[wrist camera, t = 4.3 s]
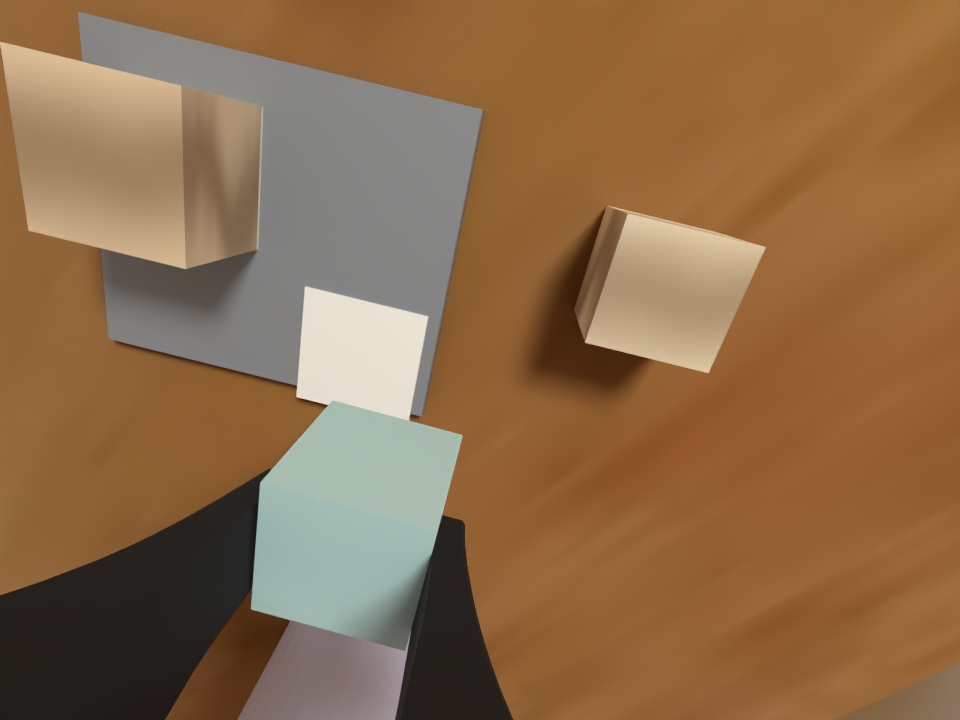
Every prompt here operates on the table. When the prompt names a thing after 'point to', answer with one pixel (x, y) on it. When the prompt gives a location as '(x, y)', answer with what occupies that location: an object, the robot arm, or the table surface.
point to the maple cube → (663, 288)
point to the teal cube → (352, 523)
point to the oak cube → (133, 160)
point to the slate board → (308, 229)
